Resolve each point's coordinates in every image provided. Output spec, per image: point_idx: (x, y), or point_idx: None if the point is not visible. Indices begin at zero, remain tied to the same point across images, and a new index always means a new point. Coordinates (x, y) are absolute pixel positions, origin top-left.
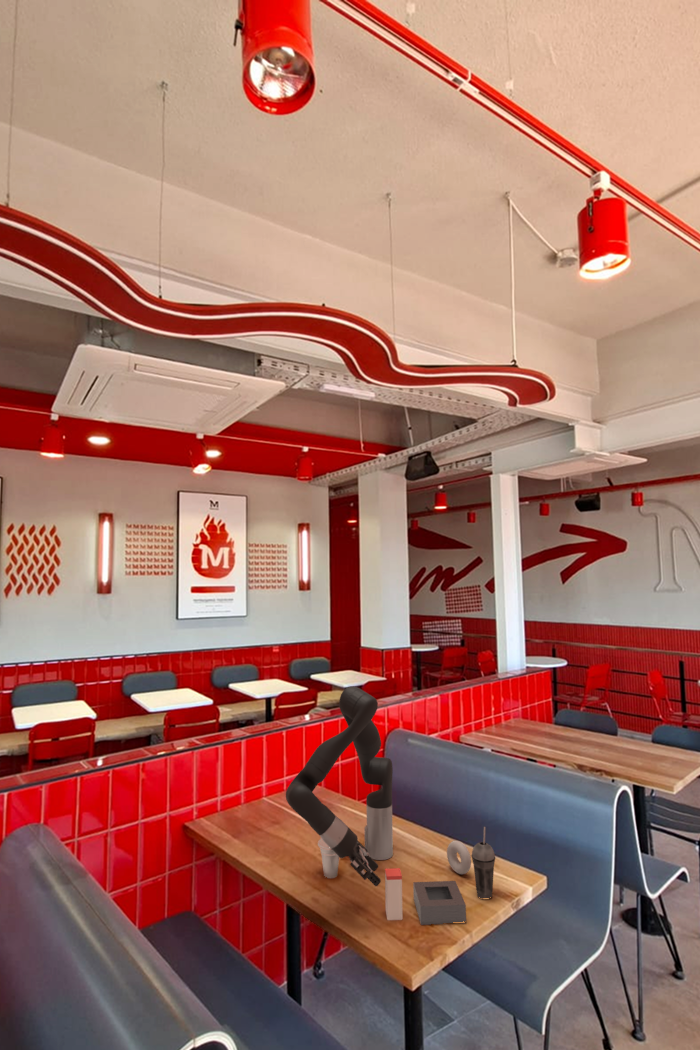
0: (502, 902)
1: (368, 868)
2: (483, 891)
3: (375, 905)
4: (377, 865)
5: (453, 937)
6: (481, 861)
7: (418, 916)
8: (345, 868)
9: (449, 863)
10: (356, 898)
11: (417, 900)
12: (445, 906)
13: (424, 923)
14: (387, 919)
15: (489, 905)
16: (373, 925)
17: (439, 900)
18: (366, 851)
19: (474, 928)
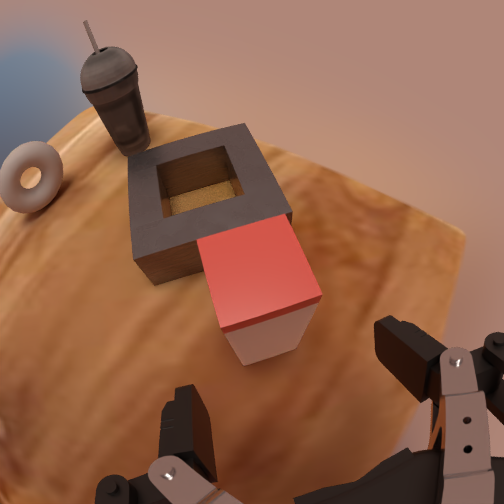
0: (159, 121)
1: (474, 370)
2: (146, 129)
3: (213, 408)
4: (193, 388)
5: (312, 173)
6: (133, 71)
7: None
8: (37, 499)
9: (27, 210)
10: None
11: None
12: (262, 157)
13: None
14: (296, 347)
15: (170, 134)
16: (339, 385)
17: (239, 169)
18: (132, 489)
19: (262, 144)
